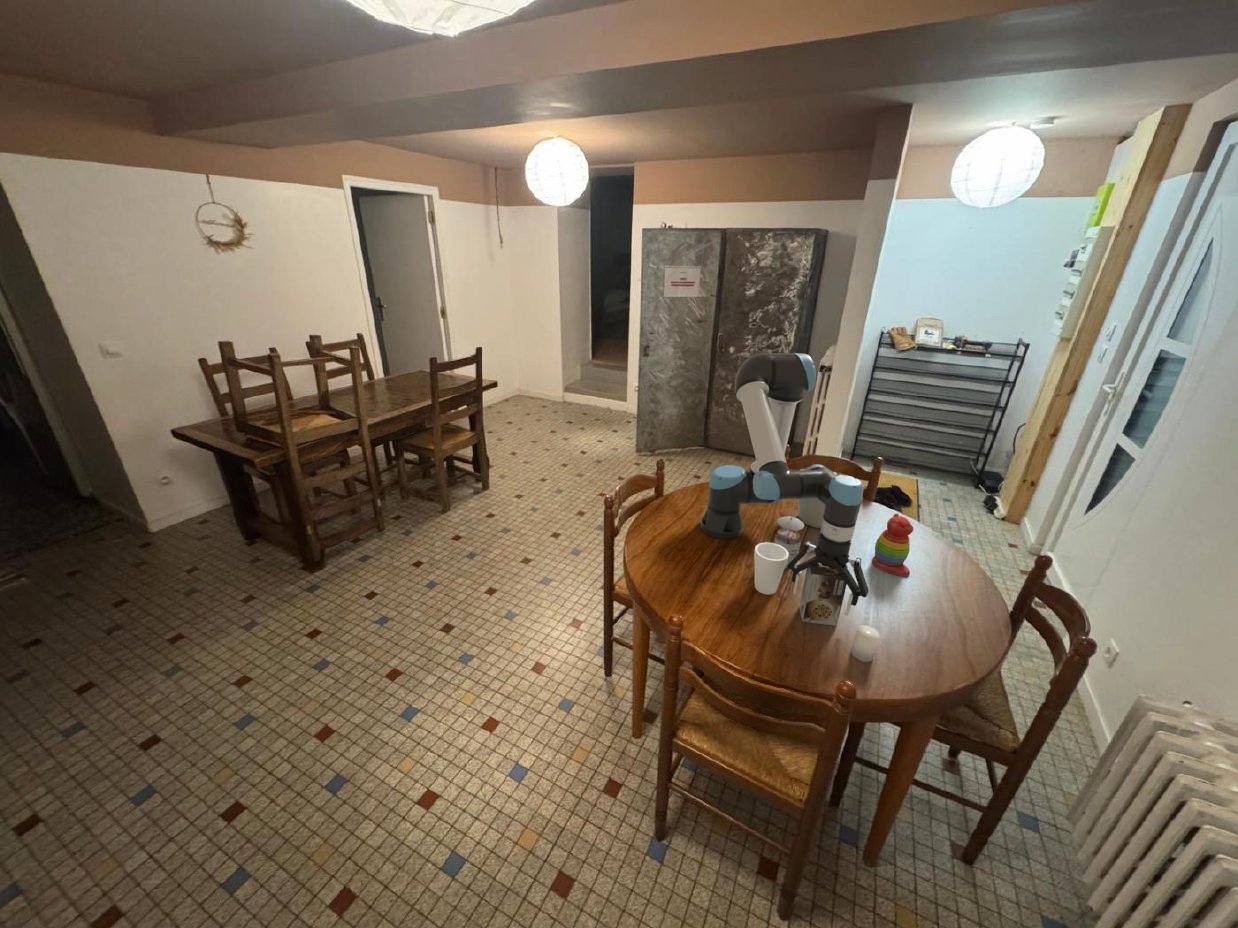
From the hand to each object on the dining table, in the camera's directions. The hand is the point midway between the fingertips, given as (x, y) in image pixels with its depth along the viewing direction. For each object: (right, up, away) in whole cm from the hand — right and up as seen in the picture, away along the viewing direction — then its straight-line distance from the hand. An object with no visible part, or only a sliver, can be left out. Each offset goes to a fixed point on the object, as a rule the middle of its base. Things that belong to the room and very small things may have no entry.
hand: (820, 602), depth 127 cm
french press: (0, +6, +28) cm, 28 cm away
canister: (+20, +16, +50) cm, 56 cm away
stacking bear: (+33, +5, +24) cm, 41 cm away
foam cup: (-11, 0, +13) cm, 17 cm away
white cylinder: (+6, -10, -10) cm, 15 cm away
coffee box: (0, -5, +2) cm, 5 cm away
